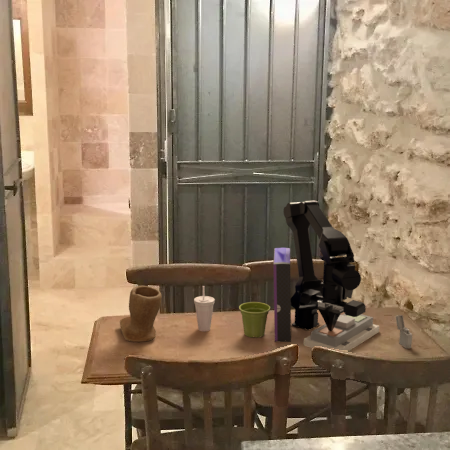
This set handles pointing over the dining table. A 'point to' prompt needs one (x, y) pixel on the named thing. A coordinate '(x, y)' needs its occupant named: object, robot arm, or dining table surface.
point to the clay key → (331, 333)
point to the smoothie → (204, 311)
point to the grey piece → (343, 335)
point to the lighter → (403, 332)
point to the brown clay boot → (141, 314)
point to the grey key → (345, 322)
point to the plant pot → (254, 318)
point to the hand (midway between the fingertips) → (330, 330)
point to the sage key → (358, 318)
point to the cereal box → (282, 295)
